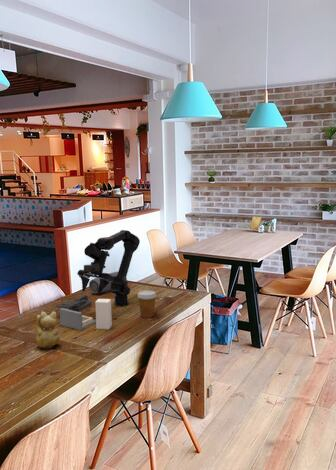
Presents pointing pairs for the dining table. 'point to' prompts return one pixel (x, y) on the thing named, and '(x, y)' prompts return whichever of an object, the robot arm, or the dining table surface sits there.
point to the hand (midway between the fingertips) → (90, 292)
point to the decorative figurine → (47, 330)
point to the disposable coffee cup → (147, 302)
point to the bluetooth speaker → (96, 282)
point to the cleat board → (75, 319)
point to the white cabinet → (103, 314)
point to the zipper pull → (76, 304)
